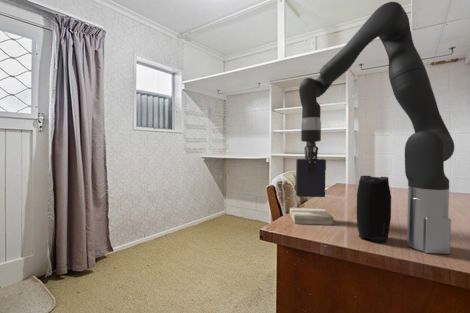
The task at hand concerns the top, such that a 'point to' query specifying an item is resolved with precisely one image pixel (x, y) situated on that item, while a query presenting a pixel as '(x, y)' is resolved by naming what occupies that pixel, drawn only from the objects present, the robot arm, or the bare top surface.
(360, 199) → the portable speaker
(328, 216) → the birch plinth
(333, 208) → the top surface
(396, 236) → the top surface
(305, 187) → the black rectangular block
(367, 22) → the robot arm
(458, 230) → the top surface
